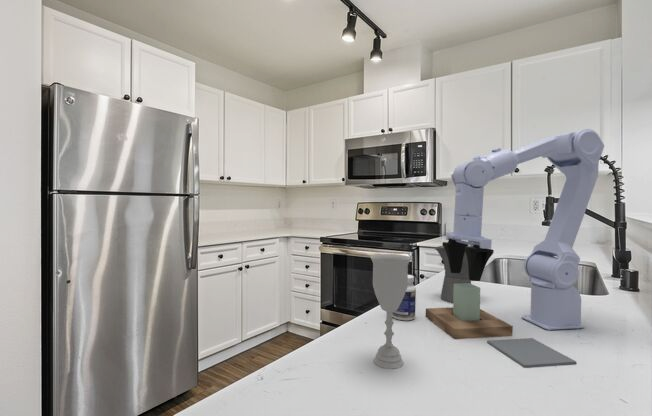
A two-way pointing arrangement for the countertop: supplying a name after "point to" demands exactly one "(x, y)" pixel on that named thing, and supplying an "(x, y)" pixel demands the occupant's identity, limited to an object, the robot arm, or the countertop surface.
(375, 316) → the countertop surface
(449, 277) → the coffeepot
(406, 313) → the pill bottle
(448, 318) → the pocket holder
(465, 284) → the sage block
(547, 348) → the slate mat
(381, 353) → the chalice
